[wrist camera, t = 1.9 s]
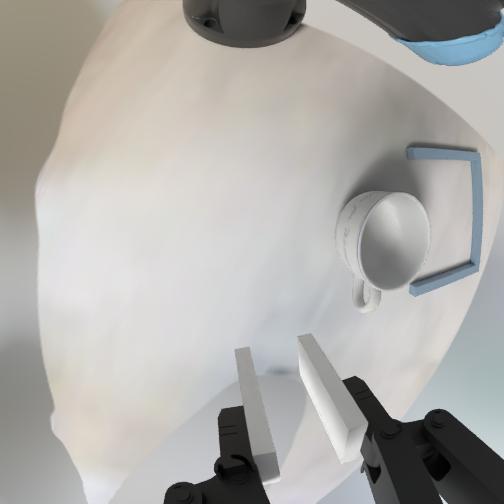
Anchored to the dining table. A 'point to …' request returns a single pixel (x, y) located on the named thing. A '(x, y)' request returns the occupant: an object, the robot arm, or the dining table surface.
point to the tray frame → (474, 263)
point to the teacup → (382, 242)
